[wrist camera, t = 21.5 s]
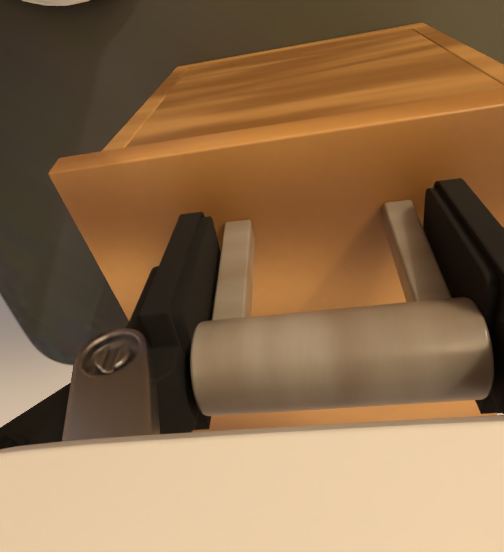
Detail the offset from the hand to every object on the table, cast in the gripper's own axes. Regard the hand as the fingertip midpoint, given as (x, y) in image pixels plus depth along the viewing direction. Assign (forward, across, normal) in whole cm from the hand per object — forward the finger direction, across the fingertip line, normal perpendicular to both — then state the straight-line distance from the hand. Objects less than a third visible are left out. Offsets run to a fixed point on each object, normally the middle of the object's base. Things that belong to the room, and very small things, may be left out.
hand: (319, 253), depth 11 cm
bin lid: (+2, 0, +5) cm, 5 cm away
